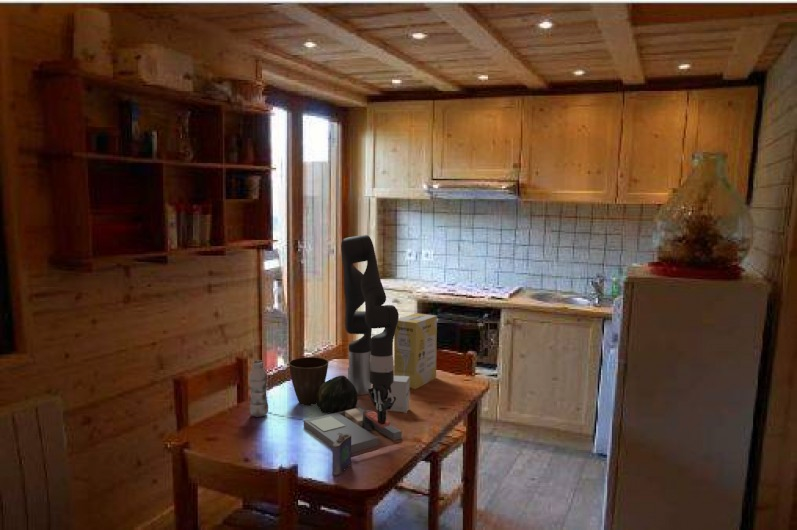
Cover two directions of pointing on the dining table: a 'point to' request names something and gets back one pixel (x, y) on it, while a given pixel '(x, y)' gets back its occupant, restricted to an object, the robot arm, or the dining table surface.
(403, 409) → the supplement box
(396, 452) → the dining table surface
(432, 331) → the pasta box
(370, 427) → the tip lever
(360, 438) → the pocket board
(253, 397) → the plastic bottle
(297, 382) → the plant pot
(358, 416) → the slab
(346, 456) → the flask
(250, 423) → the dining table surface
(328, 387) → the squash
